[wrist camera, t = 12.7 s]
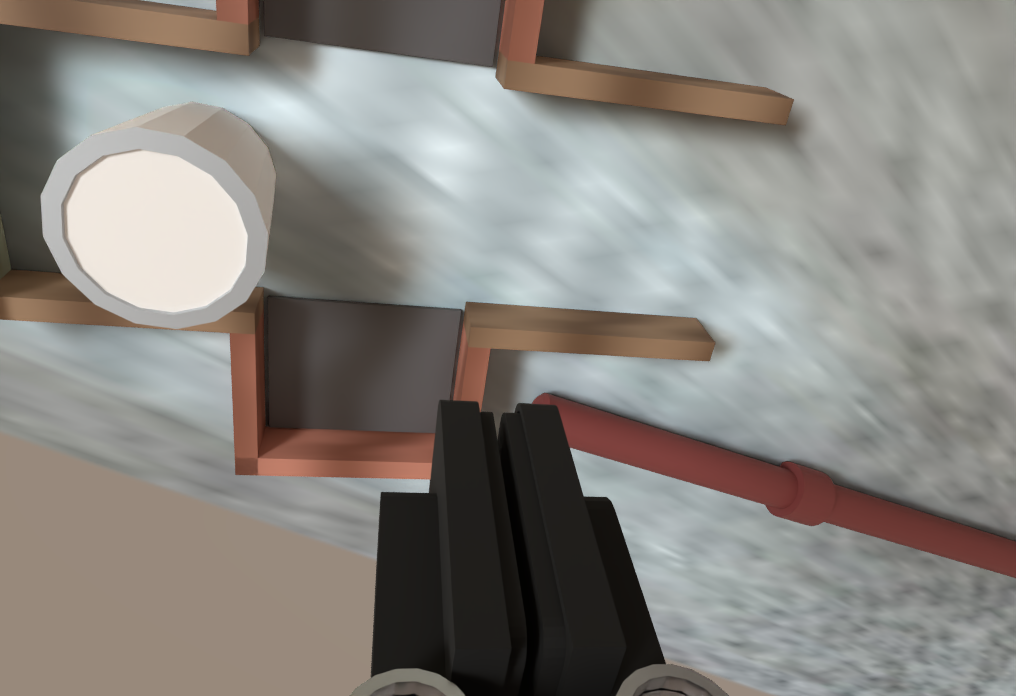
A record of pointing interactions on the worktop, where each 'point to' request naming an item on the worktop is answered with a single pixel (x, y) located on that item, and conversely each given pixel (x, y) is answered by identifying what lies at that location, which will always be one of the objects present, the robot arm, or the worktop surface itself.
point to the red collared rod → (777, 487)
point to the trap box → (371, 326)
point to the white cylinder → (164, 215)
